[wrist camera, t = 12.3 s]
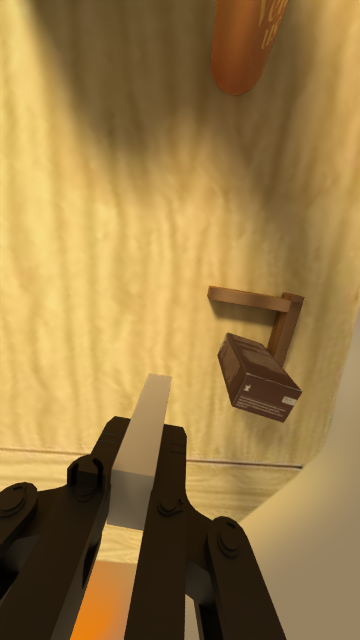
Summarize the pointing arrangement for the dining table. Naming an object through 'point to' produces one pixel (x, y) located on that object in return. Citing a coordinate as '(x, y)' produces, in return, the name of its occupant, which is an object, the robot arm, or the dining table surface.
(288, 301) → the corner fence
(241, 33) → the beverage can
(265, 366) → the box
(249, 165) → the dining table surface
